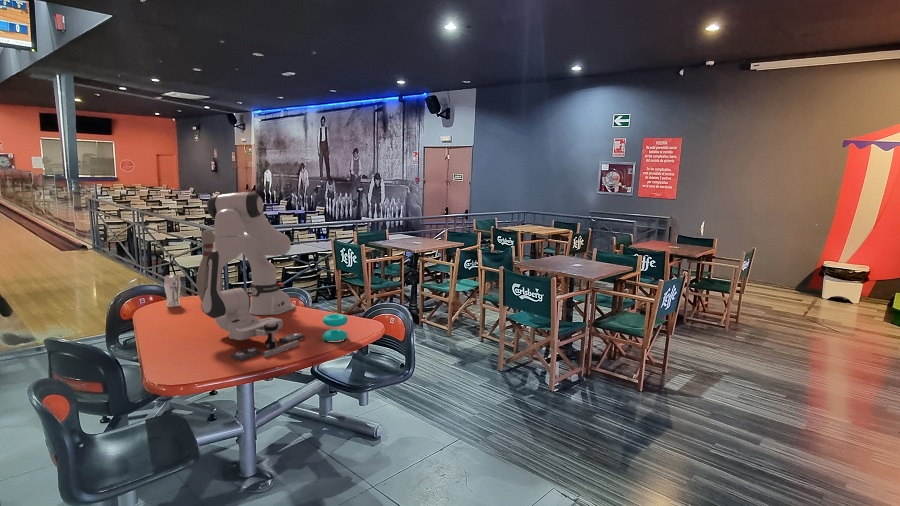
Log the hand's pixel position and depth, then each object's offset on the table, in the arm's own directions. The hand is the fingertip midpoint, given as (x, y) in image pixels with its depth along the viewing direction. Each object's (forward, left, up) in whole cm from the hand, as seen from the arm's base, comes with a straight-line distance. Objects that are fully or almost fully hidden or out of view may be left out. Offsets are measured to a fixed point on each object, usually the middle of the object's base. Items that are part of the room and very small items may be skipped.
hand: (271, 332), depth 186 cm
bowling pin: (-25, -75, -7) cm, 79 cm away
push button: (0, -1, -6) cm, 7 cm away
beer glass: (-12, -85, -7) cm, 86 cm away
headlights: (0, +1, -7) cm, 7 cm away
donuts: (-22, +12, -7) cm, 26 cm away
